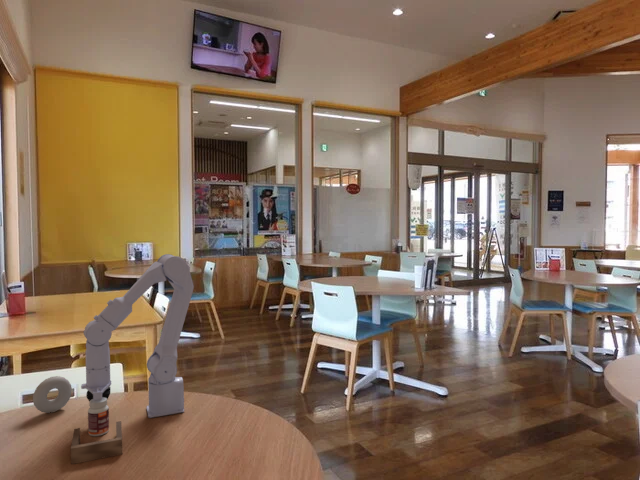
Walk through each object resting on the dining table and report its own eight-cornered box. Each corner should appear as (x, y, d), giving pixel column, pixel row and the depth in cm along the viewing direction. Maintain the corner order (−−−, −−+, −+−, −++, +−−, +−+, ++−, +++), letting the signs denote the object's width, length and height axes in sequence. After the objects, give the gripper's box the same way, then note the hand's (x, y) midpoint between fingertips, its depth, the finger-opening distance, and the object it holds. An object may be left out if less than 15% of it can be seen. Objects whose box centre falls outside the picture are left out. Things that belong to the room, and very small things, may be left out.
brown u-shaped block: (121, 434, 114) (121, 421, 114) (122, 454, 105) (122, 439, 105) (74, 443, 110) (74, 428, 110) (71, 464, 100) (70, 448, 100)
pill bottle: (100, 437, 113) (100, 404, 112) (84, 435, 114) (83, 402, 113) (113, 429, 117) (112, 397, 117) (97, 427, 118) (96, 395, 118)
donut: (36, 419, 123) (35, 383, 122) (31, 416, 125) (30, 380, 124) (74, 407, 131) (73, 373, 130) (69, 404, 133) (68, 370, 132)
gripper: (82, 360, 124) (83, 409, 125) (78, 377, 111) (80, 431, 112) (111, 357, 127) (112, 405, 128) (110, 373, 114) (111, 426, 114)
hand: (99, 417), depth 120 cm, fingers closed
